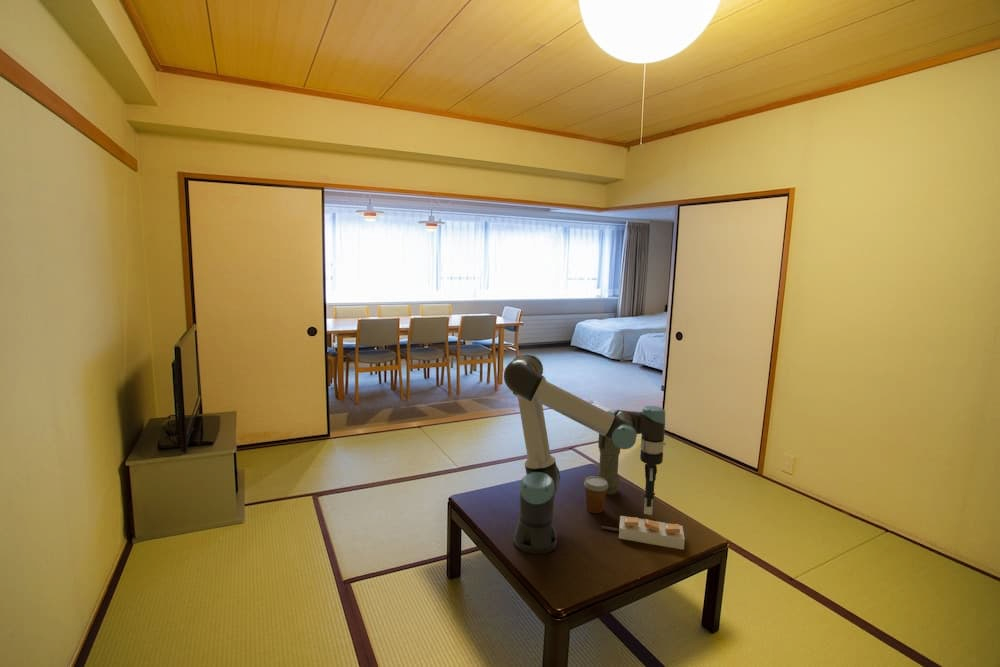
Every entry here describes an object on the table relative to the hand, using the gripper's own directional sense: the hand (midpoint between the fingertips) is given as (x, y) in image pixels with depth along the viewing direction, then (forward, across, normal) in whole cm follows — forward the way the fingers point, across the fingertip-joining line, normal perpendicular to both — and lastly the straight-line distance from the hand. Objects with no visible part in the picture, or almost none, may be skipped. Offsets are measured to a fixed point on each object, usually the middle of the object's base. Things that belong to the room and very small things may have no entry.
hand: (648, 513), depth 169 cm
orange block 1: (+4, 0, +6) cm, 7 cm away
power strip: (+10, +2, +2) cm, 10 cm away
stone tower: (+10, +34, +16) cm, 39 cm away
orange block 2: (+4, 0, -1) cm, 4 cm away
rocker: (+4, 0, -8) cm, 9 cm away
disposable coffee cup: (+10, +15, +20) cm, 27 cm away
